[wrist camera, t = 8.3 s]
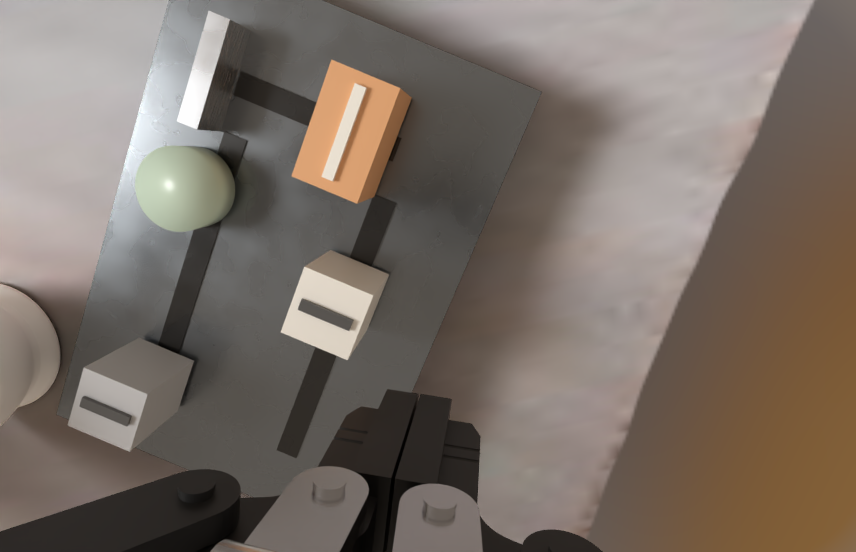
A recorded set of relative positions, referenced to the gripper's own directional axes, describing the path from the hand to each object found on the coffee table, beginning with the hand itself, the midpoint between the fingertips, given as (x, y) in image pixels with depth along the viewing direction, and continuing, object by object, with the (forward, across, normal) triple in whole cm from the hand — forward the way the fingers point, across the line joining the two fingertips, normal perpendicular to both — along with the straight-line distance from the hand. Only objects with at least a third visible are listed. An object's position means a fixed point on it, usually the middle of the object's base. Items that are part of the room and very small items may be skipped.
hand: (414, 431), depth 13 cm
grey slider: (+16, +15, +7) cm, 23 cm away
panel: (+20, +10, +1) cm, 22 cm away
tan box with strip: (+16, +5, -6) cm, 18 cm away
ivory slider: (+16, +5, +1) cm, 17 cm away
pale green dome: (+16, +14, -3) cm, 21 cm away
